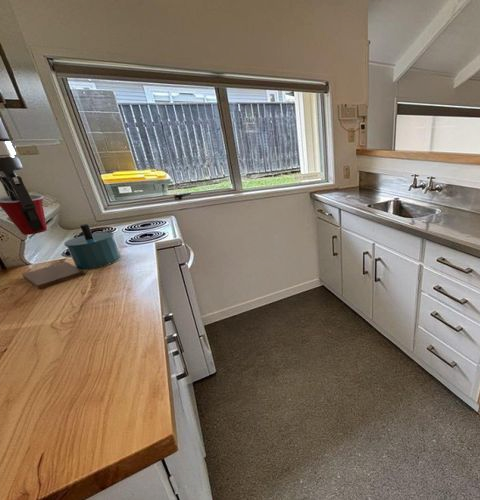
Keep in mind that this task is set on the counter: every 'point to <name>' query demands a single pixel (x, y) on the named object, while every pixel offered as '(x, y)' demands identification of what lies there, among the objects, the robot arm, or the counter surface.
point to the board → (53, 275)
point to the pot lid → (88, 237)
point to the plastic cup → (18, 217)
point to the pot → (95, 254)
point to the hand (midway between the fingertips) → (34, 228)
